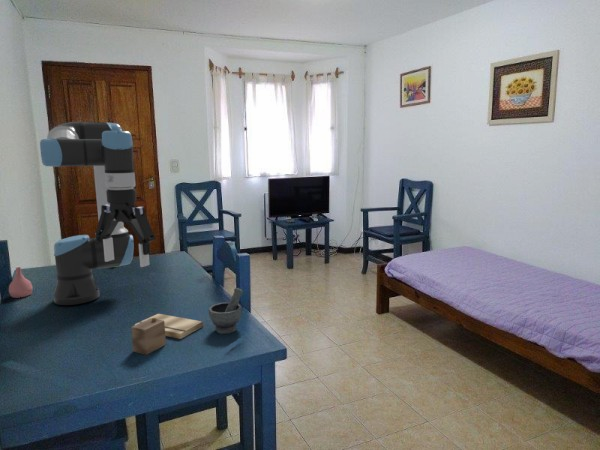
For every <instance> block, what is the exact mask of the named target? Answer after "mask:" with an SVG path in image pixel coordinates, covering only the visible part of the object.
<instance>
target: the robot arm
mask: <svg viewBox="0 0 600 450" xmlns="http://www.w3.org/2000/svg"><path fill="white" fill-rule="evenodd" d="M46 137H47V138H43V139H40V141H39V146H40V147H39V148H40V150H39V151H40V159H41V163H42V165H43V166H45V167H56V168H60V167H82V166H84V167H85V166H86V167H93V175H94V187H95V197H96V207H97V217H98V224H97V226H96V227H97V228H96V231H95V233H94V234H95V237H94V238H93V237H92V238H90V236H89V234H78V235H73V236H69V237H66V238H62V239H61V238H60V239H59V240H57V241H55V243H54V245H53V249H54V250H53V251H54V253H53V257H54V259H55V271H56V272H55V273H56V279H57V280H56V281H57V282H56V285H55V290H54V293H53V303H54V305H55V304H56V305H57V306H59V305H60V306H73V305H80V304H85V303H88V302H92V301H94V300H96V299H98V298H99V297H100V289H99V287H98V284H97V283H96V280H95V278H94V275H93V270H98V269H106V268H118V267H123V266H127V265H130V264H131V263H132V261H133V257H134V249H135V248H134V246H135V245H134V244H135V243H134V236H133V235H132V234H129V230H128V229H127V228H126V227H125V226H124V225H125V223H126V224H127V225H128V226H129V227H130V229H132V231H133V234H135V236H136V237H137V239H138V241H139V243H138V253H139V255H138V256H139V267H140V268H143V267H144V268H145V267H147V266H151V265H150V254H151V245H150V244H151V242H153V241H155V240H156V236H155V233H154V232H153V231H154V230H153V229H152V226H151V224H150V222H149V220H148V217H147V215H146V211H145V207H144V206H137V207H136V206H135V203H136V202H137V190H136V188H135V187H136V176H135V175H136V174H135V167H134V164H135V163H134V149H133V148H134V142H133V137H132V134H131V132H130V131H127V130H123V129H122V127H121V125H120V124H118V123H115V122H114V123H113V122H106V121H104V122H103V121H102V122H99V121H98V122H96V121H94V122H93V121H92V122H91V121H89V122H88V121H85V122H84V121H83V122H82V121H71V122H65V123H61V124H59V125H56V126H54V127H52V128H51V129H50V130H49V131H48V134H47V136H46ZM116 266H118V267H116Z"/></svg>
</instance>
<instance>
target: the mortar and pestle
mask: <svg viewBox="0 0 600 450" xmlns="http://www.w3.org/2000/svg"><path fill="white" fill-rule="evenodd" d="M233 291H234V292H233V294H232V296H231V297H230V300H229V302H219V303H216V304H212V305H211V306H210V307H208V315H209V316H208V317H209V319H210V320H211V322H212V324H213V325H214V326H215V331H216V333H217V334H218V333H219V334H222V335H223V334H231V333H234V332H235V331H237V323H238V322H239V321H240V319H241V317H242V313H243V312H242V311H243V307H242V306H241V304H240V300H241V297H242V294H244V290H243V289H241V288H239V287H236V288H234V289H233Z"/></svg>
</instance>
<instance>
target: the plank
mask: <svg viewBox="0 0 600 450" xmlns="http://www.w3.org/2000/svg"><path fill="white" fill-rule="evenodd" d="M154 317H156V319H158V320H163V321H164V323H165V337H170V338H175V339H178V340H179V339H180V340H181V339H183V338H186V337H187V336H188V335H190V334H192V333H194V332H195V331H197V330H199V329H201V328H203V326H204V325H203V324H204V323H203V321H202V320H196V319H190V318H186V317H179V316H174V315H168V314H162V313H157V314H156V313H155V315H152V316H150V317H148V318H145V319H143V320H141V321H139V322H137V323H135V324H134V326H135V325H137V324H139V323H141V322H143V321H146V320H148V319H150V318H154Z"/></svg>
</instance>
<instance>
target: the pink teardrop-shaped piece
mask: <svg viewBox="0 0 600 450" xmlns="http://www.w3.org/2000/svg"><path fill="white" fill-rule="evenodd" d="M15 272H16V274H15V276H14V279H13V280H12V281H11V282H10V284H9V285H8V292H9V294H10V297H11V298H15V299H17V298H18V299H21V298H26V297H28V296H30V295H32V294H33V284H32V282H31V281H30V280H29V279H27V278H25V276H24V274H23V273H22V268H21V266H18V267H15ZM20 297H21V298H20Z"/></svg>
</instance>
